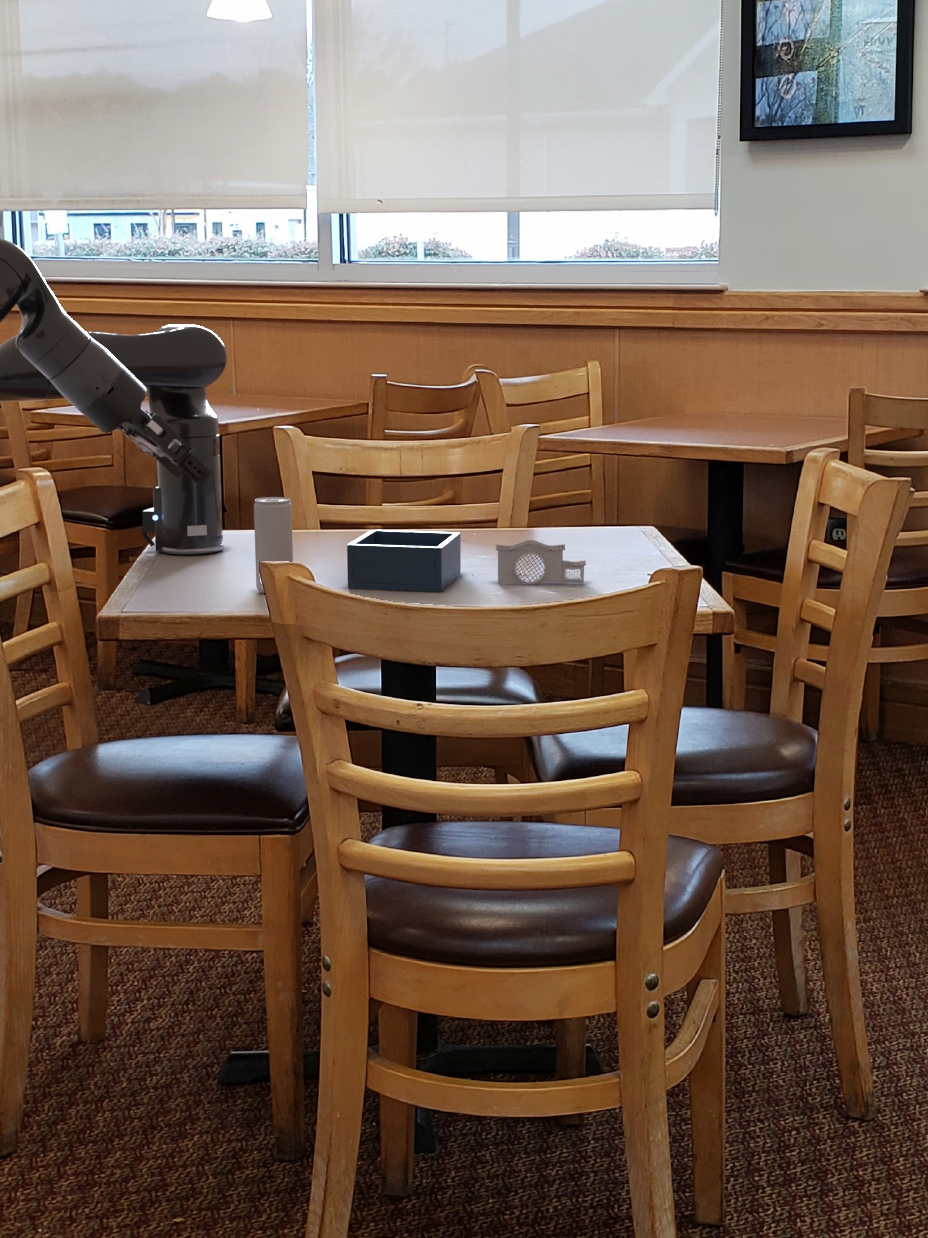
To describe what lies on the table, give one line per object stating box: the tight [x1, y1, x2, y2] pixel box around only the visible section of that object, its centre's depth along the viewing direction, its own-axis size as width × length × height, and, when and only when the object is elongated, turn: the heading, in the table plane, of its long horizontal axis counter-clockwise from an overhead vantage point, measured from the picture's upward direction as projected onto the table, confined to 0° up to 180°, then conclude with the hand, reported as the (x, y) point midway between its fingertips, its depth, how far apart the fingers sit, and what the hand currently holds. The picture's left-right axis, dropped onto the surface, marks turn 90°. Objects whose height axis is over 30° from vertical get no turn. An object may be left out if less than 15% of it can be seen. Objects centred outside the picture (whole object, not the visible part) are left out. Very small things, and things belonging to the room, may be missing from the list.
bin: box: [346, 529, 462, 593], centre depth 196 cm, size 13×13×6 cm
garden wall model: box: [495, 539, 587, 586], centre depth 195 cm, size 12×2×6 cm, turn 90°
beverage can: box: [253, 496, 294, 594], centre depth 189 cm, size 5×5×12 cm
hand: (193, 475), depth 182 cm, fingers open, 8 cm apart
